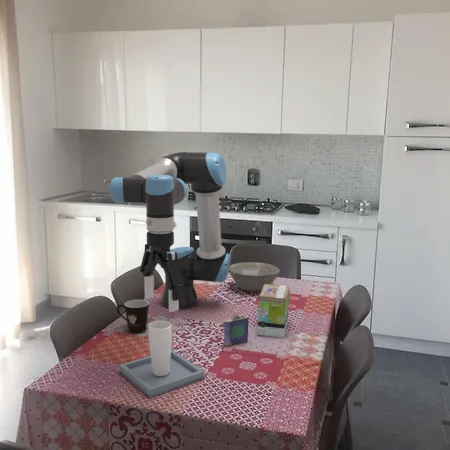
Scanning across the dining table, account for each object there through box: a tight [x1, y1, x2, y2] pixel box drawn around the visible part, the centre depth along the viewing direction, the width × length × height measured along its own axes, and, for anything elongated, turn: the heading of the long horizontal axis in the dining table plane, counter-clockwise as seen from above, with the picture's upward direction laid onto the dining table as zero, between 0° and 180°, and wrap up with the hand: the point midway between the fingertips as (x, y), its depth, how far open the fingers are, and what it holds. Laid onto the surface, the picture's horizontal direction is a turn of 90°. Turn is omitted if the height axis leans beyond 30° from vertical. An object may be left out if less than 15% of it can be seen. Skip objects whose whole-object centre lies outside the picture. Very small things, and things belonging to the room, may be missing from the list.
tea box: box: [256, 284, 291, 338], centre depth 182 cm, size 15×10×15 cm
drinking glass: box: [147, 320, 173, 376], centre depth 146 cm, size 7×7×15 cm
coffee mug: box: [116, 299, 150, 335], centre depth 181 cm, size 12×9×10 cm
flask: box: [223, 312, 250, 348], centre depth 170 cm, size 9×3×11 cm, turn 121°
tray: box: [119, 349, 205, 399], centre depth 147 cm, size 18×18×2 cm
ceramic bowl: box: [228, 261, 280, 293], centre depth 227 cm, size 22×23×10 cm
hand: (161, 303), depth 144 cm, fingers open, 13 cm apart
